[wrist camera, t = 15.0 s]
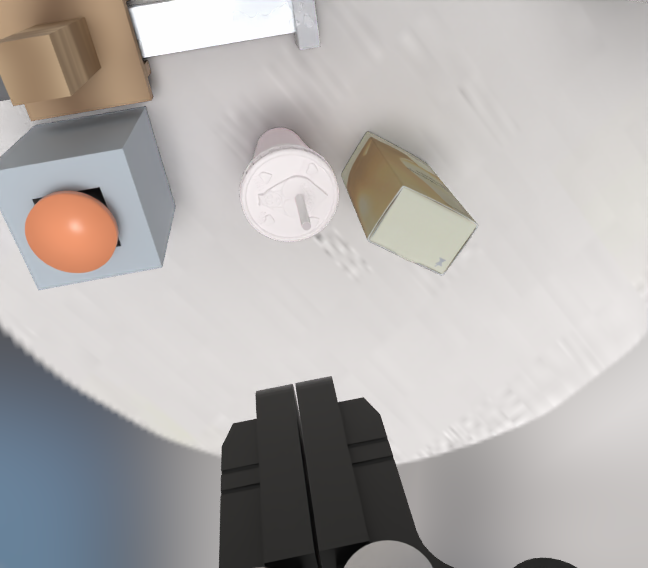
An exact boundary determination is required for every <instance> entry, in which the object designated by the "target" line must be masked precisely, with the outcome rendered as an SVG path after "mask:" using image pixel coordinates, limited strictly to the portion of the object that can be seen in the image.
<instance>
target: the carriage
mask: <svg viewBox="0 0 648 568" xmlns="http://www.w3.org/2000/svg"><path fill="white" fill-rule="evenodd" d="M126 1H128V0H0V76H1V78H2V80H3V83H4V85H5V87H6V90H7V92H8V95H9V97H10V99H11V102H12V104H13V106H16V105H22V104H24V105H25V107H26V110H27V112H28V115H29V117H30V119H31V121H35V120H40V119H46V118H52V117H58V116H64V115H70V114H75V113H81V112H87V111H93V110H99V109H104V108H110V107H116V106H122V105H128V104H134V103H139V102H145V101H151V100H152V99H153V94H152V91H151V87H150V84H149V80H148V76H149V74H150V73H151V70H150V66H149V63H148V60H144V61H143V60H142V56H141V53H140V49H139V46H138V42H137V39H136V35H135V32H134V29H133V25H132V22H131V18H130V15H129V11H128V8H127V4H126Z"/></svg>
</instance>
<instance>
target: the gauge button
mask: <svg viewBox="0 0 648 568" xmlns="http://www.w3.org/2000/svg"><path fill="white" fill-rule="evenodd" d="M25 235H26V239H27V242H28V244H29V246H30V248H31V249H32V251H33V252H34V254H35V255H36V256H37V257H38V258H39V259H41V260H42V261H43V262H44V263H46V264H47V265H49V266H51V267H53V268H55V269H57V270H60V271H64V272H69V273H86V272H90V271H93V270H96V269H98V268H100V267H102V266H103V265H104V264H106V263H107V262H108V261H109V259H110V258H111V257H112V255H113V253H114V251H115V248H116V245H117V242H118V236H119V232H118V226H117V223H116V220H115V218H114V216H113V215H112V213H111V212H110V210H109V209H108V208H107V205H106V202H105V200H104V197H103V194H102V192H101V189H100V187H97V188H92V189H86V190H80V191H57V192H53V193H51V194H48V195H46V196H44V197H43V198H42V199H40V200H39V201H38V202H37V203H36V204H35V206H34V207H33V208H32V209H31V211H30V212H29V214H28V216H27V218H26V222H25Z"/></svg>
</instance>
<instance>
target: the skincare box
mask: <svg viewBox="0 0 648 568" xmlns="http://www.w3.org/2000/svg"><path fill="white" fill-rule="evenodd" d="M341 176H342V179H343V181H344V184H345V186H346V189H347V191H348V194H349V196H350V199H351V201H352V204H353V206H354V208H355V211H356V213H357V216H358V218H359V221H360V223H361V225H362V228H363V230H364V233H365V235H366V238H367V240H368V241H369V242H370V243H373V244H375V245H377V246H379V247H381V248H383V249H385V250H387V251H389V252H391V253H394V254H396V255H398V256H400V257H402V258H404V259H406V260H408V261H410V262H413V263H415V264H417V265H419V266H421V267H424V268H426V269H428V270H430V271H432V272H435V273H437V274H439V275H441V276H442V275H444V274H445V273H446V271H447V270H448V268H449V267H450V266H451V264H452V263H453V262H454V260H455V259H456V258H457V256H458V255H459V253H460V252H461V251H462V249H463V248H464V247H465V245H466V244H467V242H468V241H469V240H470V238H471V237H472V235H473V233H474V232H475V230H476V229H477V228H478V224H477V223H476V222H475V221H474V219H473V218H472V217H471V216H470V215H469V213H468V212H467V211H466V210H465V209H464V208H463V206H462V205H461V204H460V203H459V201H458V200H457V199H456V198H455V197H454V196H453V194H452V193H451V192H450V191H449V189H448V188H447V187H446V186H445V185H444V184H443V182H442V181H441V180H440V179H439V177H438V176H437V175H436V174H435V173H434V171H433V170H432V169H431V168H430V167H429V165H428V164H427V163H425V162H423V161H422V160H420V159H418V158H417V157H415V156H413V155H412V154H410V153H408V152H407V151H405V150H403V149H401V148H399V147H398V146H396V145H394V144H392V143H390V142H388V141H386V140H384V139H382V138H380V137H378V136H376V135H374V134H372V133H370V132H366V134H365V135H364V137H363V139H362V140H361V142H360V143H359V145H358V147H357V148H356V150H355V151H354V153H353V155H352V156H351V158H350V160H349V162H348V163H347V165H346V167H345V168H344V170H343V172H342V174H341Z"/></svg>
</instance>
